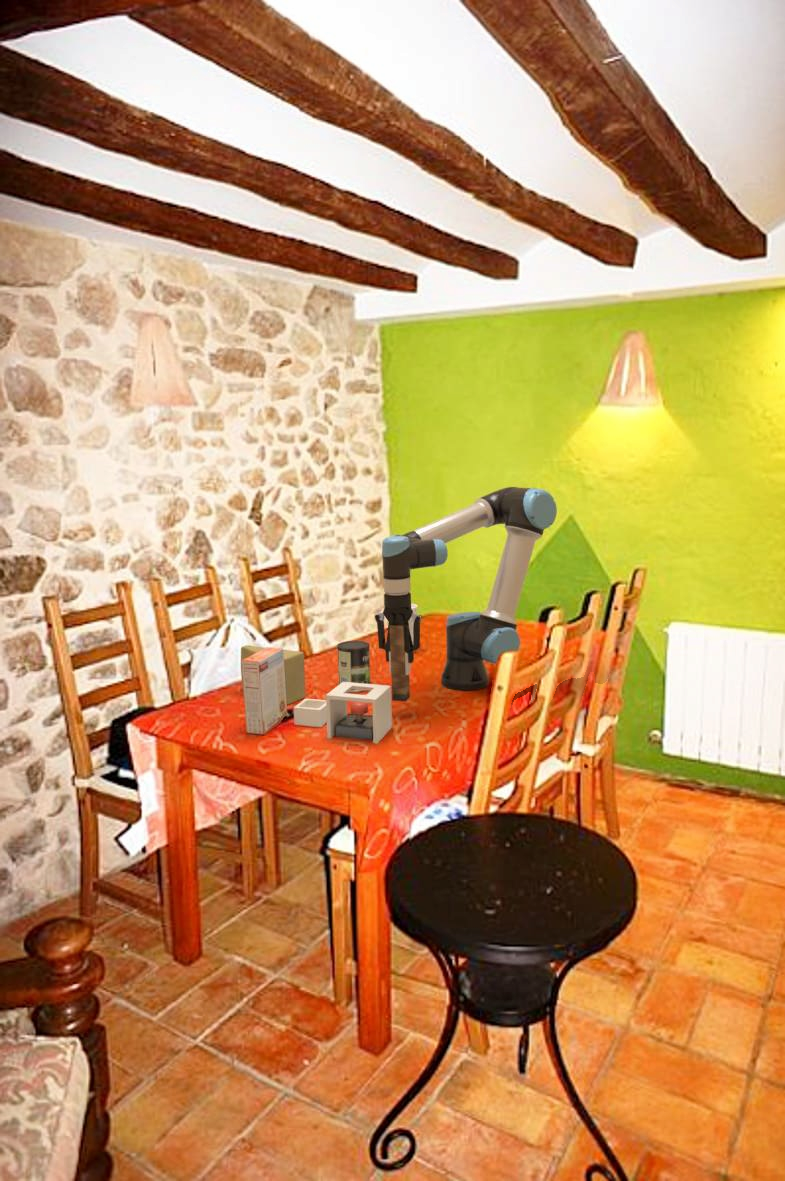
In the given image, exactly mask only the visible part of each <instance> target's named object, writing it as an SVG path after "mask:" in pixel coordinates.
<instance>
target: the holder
mask: <svg viewBox="0 0 785 1181" xmlns="http://www.w3.org/2000/svg"><path fill="white" fill-rule="evenodd" d="M293 720H294V721H293V723H294V725H296V726H303V727H315V728H322V727H323V726H324V725H325V724H327V712H326V699H314V698H303V700H301V701H300V702H299V703H297V704H296V705H295V706H294V707H293Z"/></svg>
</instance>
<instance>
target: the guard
mask: <svg viewBox="0 0 785 1181" xmlns="http://www.w3.org/2000/svg"><path fill="white" fill-rule="evenodd" d="M352 689H354V690H365V691H368V693H367V694H357V693H350V692H349V691H351V690H352ZM325 700H326V712H327V722H326V734H327V739H332V738H334V737H335V735H337V734H336V724H337V723H338V722H340V721H341V720H342V719H343V718H344V717H345V716H346V715H347V714H348V702H352V701H356V702H367V703H368V704H372V716H373V740H372V743H373V744H377V745H378V743H379V742H380V741H381V740H382V739H383V738H384V737H385V736H386V734H388V733H389V732H390V730H391V729H392V723H393V721H392V720H393V719H392V685H385V684H384V685H383V684H373V683H370V684H364V683H352V682H342V683H341V684H339V683H338V685H337V686H335V688H333V689H332V690H331V691H329V692H328V693H327V694H325Z"/></svg>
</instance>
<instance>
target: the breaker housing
mask: <svg viewBox="0 0 785 1181" xmlns="http://www.w3.org/2000/svg"><path fill="white" fill-rule="evenodd" d="M363 722H364V723H358V722H356V714H352V713H351V712H350V713H347V715H346V716H345V717H344V718H343V719H342V720H341V721H340V722H338V723H337V724H336V734H335V735H336V738H341V739H343V738H344V739H351V740H361V741H370V742H373V715H369V714H363Z"/></svg>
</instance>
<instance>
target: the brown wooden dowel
mask: <svg viewBox="0 0 785 1181" xmlns="http://www.w3.org/2000/svg"><path fill="white" fill-rule="evenodd" d="M405 625H406V624H405ZM389 627H390V653H391V674H390V675H391V702H393V701H394V702H407V701H408V700H409V698H410V697H411V693H410V692H411V690H410V689H411V687H410V674H409V675H406V674H405V652H406V651H407V648H406V643H405V639H404V627H403V626H401V625H389Z"/></svg>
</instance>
